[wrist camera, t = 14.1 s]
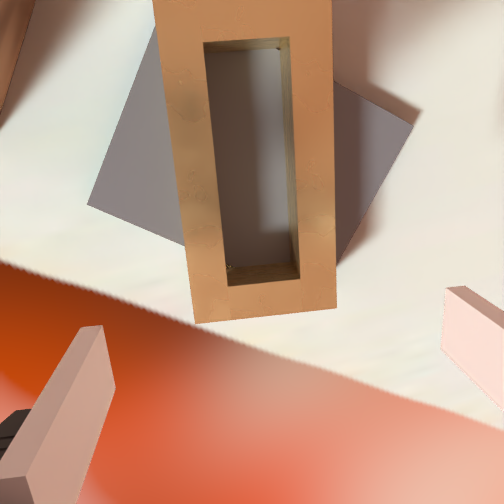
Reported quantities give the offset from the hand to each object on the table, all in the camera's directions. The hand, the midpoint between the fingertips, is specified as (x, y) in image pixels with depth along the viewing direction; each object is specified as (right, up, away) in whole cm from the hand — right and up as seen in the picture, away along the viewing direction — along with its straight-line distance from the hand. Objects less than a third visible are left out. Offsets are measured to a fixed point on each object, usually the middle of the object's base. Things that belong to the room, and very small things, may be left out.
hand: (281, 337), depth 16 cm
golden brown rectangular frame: (-1, +8, +8) cm, 11 cm away
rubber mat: (-1, +8, +9) cm, 12 cm away
